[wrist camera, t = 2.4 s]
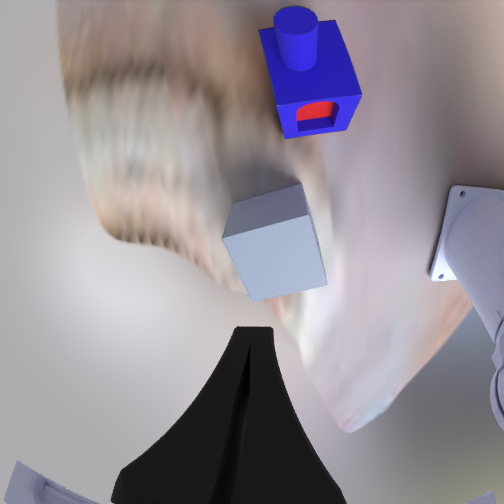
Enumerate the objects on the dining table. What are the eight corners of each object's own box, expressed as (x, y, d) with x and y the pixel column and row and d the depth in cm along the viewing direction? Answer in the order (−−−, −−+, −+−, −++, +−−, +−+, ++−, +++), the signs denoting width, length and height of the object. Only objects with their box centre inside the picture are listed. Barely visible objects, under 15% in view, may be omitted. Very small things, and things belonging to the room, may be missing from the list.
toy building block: (329, 69, 15) (339, -18, 7) (346, 130, 15) (376, 63, 7) (271, 77, 15) (246, -8, 8) (285, 139, 16) (267, 75, 8)
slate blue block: (301, 182, 18) (308, 214, 14) (318, 242, 20) (327, 285, 16) (233, 202, 19) (221, 238, 15) (256, 258, 21) (251, 302, 17)
